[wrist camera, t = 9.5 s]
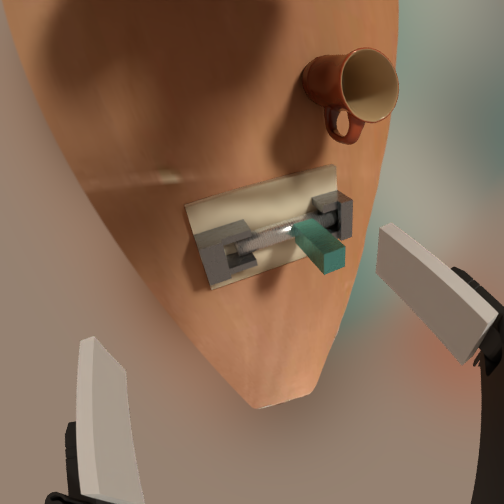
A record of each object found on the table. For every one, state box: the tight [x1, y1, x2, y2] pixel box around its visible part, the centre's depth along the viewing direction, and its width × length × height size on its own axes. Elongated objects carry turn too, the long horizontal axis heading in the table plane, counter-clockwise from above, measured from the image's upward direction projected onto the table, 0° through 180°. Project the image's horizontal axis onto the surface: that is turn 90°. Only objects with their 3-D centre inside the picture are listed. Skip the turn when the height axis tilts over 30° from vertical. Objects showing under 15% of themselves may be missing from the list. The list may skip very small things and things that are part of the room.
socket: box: [312, 190, 353, 241], centre depth 42 cm, size 6×4×4 cm
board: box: [185, 164, 338, 290], centre depth 42 cm, size 14×22×1 cm, turn 100°
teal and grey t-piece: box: [234, 210, 345, 275], centre depth 38 cm, size 3×15×11 cm, turn 100°
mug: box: [302, 48, 399, 145], centre depth 30 cm, size 12×9×10 cm
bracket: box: [194, 219, 258, 286], centre depth 39 cm, size 6×7×4 cm
